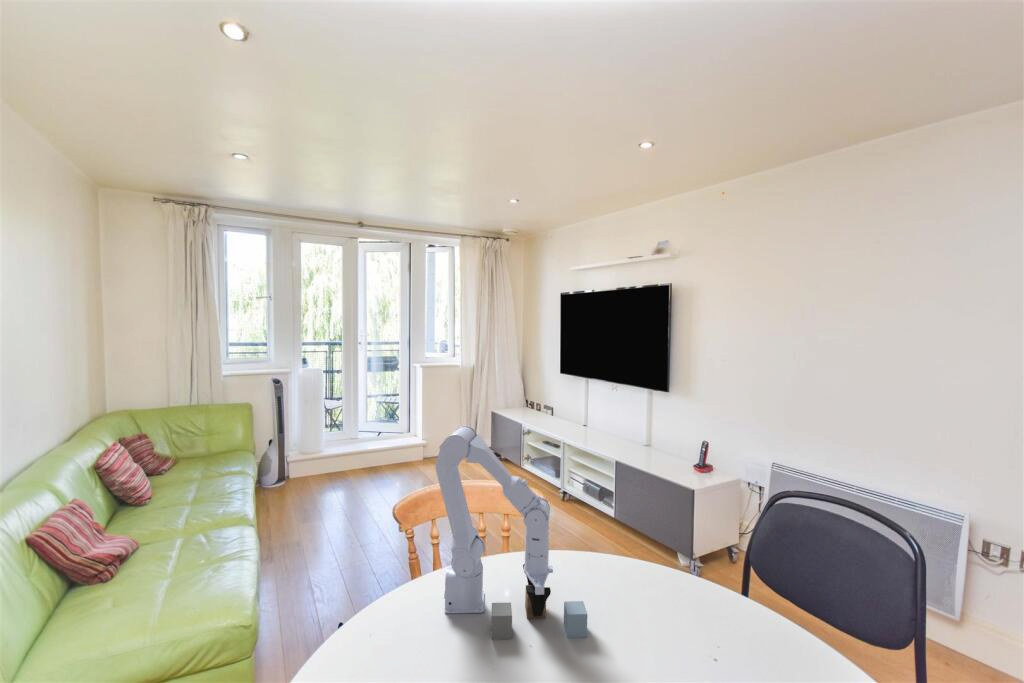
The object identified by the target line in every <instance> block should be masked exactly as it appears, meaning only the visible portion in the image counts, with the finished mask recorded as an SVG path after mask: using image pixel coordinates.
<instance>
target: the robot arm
mask: <svg viewBox="0 0 1024 683" xmlns="http://www.w3.org/2000/svg"><path fill="white" fill-rule="evenodd" d="M438 449H439V451H438V452H439V453H438V455H437V459H436V462H435V466H434V467H435V472H436V476H437V480H438V483H439V487H440V492H441V495H442V500H443V502H444V503H443V504H444V508H445V511H446V516H447V519H448V522H449V526H450V530H451V534H452V540H451V545H450V548H451V549H450V550H451V554H452V555H451V556H452V557H451V562H450V564H451V565H450V566H451V567H447V568H446V569H445V577H444V578H445V580H444V595H443V596H444V597H443V599H444V614H482V613H484V612H485V592H484V590H483V584H484V583H483V580H484V578H483V576H484V565H483V563H482V559H481V558H482V556H483V555H484V553H485V551H486V544H485V542H484V539H482V537H481V536H480V535H479V531H478V528H476V527H474V526H473V523H472V522H473V521H472V518H471V514H470V510H469V506H468V503H467V499H466V495H465V494H466V493H465V492H464V486H463V483H462V479H461V475H460V470H459V465H460V464H461V463H462V461H463V460H464V459H465V458H466V460H465V463H468V464H469V463H471V464H479V465H481V467H482V468H483V469H485V471H486V472H488V474H490V476H491V477H492V478H493V479H494V480H495V481H497V482H498V483H499V484H500V486H501V488H502V492H501V493H502V495H503V496H504V497H505V498H506V499H507V501H509V503H510V504H511V505H512V506H513V507H514V508H515V509H516V511H517V512H519V514H520V515H522V516H523V524H524V525H525V527H526V528H525V532H524V534H525V536H524V539H525V540H524V564H522V568H523V573H524V574H525V577H526V579H527V585H534V586H526V585H525V592H526V591H527V594H528V596H529V598H530V601H531V607H532V613H533V616H542V614H543V610H544V606H545V603H546V604H547V600H548V599H549V597H550V595H551V592H552V591H551V590H552V589H551V587H548V586H545V584H546V581H547V579H548V576H549V574H552V573H554V568H553V566H552V565H549V551H550V548H549V547H550V528H549V526H550V525H549V524H550V521H549V520H550V515H551V505H550V504H549V502H548V501H547V499H546V498H544V497H542V496H540V495H537V494H536V492H534V491H533V489H531V487H530V486H529V485H528V484H529V482H528V481H527V479H526V478H524V479H522V477H520V476H516V475H512V474H511V472H510V471H509V470H508V469H507V468H506V466H505V465H504V464H503V463H502V462H501V460H500V459H499V458H498V456H496V454H495V453H494V452H493V450H492V449H491V448H490V447H489V446H488V444H487V443H486V441H485V440H484V438H483V436H482V435H480V434H478V433H477V431H476V430H475V428H473V427H472V426H470V425H461V426H458V428H455V430H454V431H453V433H451V434H450V435H448V436H447V437H446V438H445V439H444V440H443V441H442V443H441V444H440V445H439V448H438Z"/></svg>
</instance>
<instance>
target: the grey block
mask: <svg viewBox="0 0 1024 683" xmlns="http://www.w3.org/2000/svg"><path fill="white" fill-rule="evenodd" d="M512 609H513V608H512V602H510V601H509V602H491V616H490V617H491V620H490V621H491V623H490V624H491V630H490V632H491V640H512V639H513V610H512Z"/></svg>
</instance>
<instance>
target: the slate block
mask: <svg viewBox="0 0 1024 683" xmlns="http://www.w3.org/2000/svg"><path fill="white" fill-rule="evenodd" d="M563 626H564V631H565V635H566V638H568V639H569V638H572V639H573V638H576V639H577V638H587V637H588V612H587V608H586V605H585V602H584V600H583V601H582V600H581V601H579V600H576V601H575V600H573V601H569V600H568V601H566V600H565V601H563Z"/></svg>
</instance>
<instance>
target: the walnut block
mask: <svg viewBox="0 0 1024 683" xmlns="http://www.w3.org/2000/svg"><path fill="white" fill-rule="evenodd" d="M526 586H534V585H528V584H525V587H526ZM524 598H525V601H524V602H525V604H524V607H525V616H526V619H536V620H537V619H546V615H547V614H546V613H547V602H546V603H545V606H544V610H543V614H542V616H533V613H532V607H531V601H530V598H529V596H528V594H527V591H526V590H525V597H524Z"/></svg>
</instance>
